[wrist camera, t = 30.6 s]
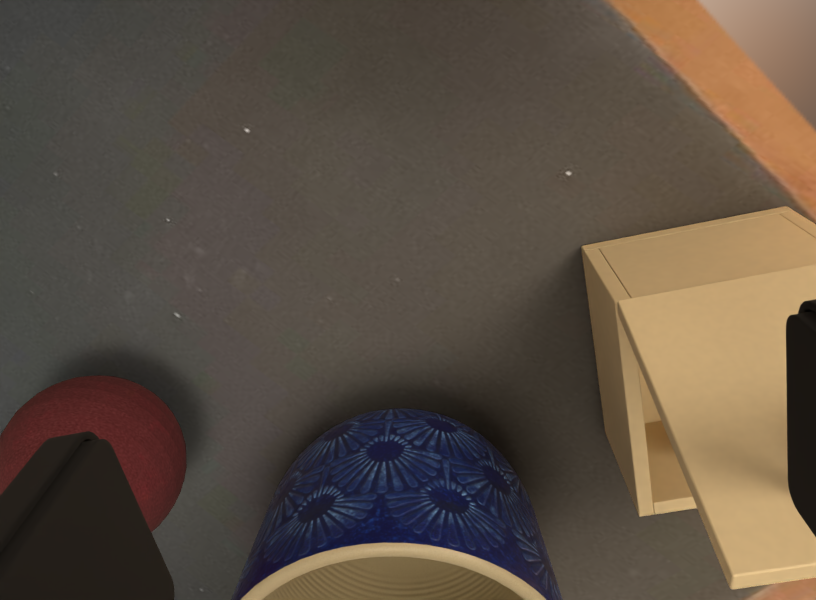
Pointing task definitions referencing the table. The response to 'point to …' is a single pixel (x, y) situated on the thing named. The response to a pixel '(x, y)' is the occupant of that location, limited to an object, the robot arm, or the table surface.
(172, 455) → the decorative ball
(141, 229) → the table surface
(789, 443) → the robot arm
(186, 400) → the table surface
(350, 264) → the table surface
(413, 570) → the planter
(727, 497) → the lid
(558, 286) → the table surface
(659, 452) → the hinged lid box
